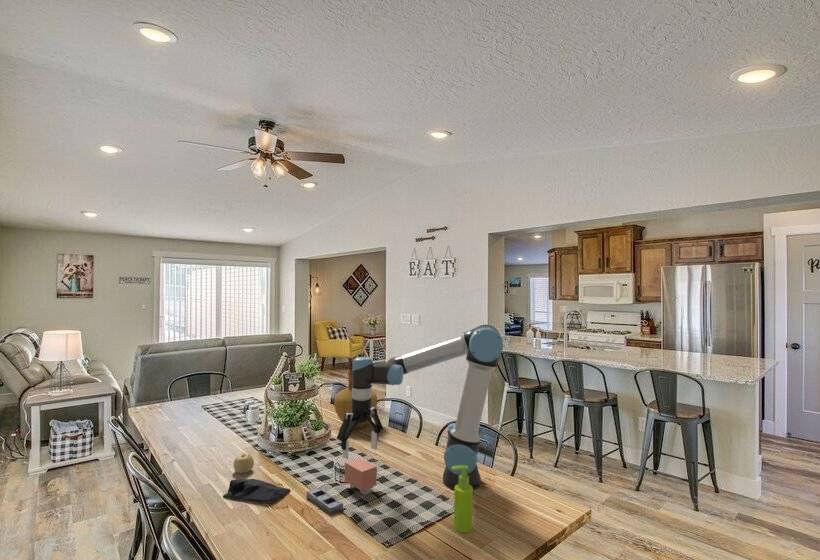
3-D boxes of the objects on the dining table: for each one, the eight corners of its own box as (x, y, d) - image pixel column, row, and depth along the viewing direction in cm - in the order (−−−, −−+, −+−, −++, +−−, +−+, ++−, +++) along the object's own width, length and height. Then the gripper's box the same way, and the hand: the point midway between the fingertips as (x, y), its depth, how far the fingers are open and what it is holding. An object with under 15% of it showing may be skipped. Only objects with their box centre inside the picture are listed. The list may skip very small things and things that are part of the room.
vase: (375, 433, 228) (375, 376, 228) (329, 432, 228) (330, 375, 228) (378, 419, 251) (379, 367, 252) (337, 418, 252) (338, 367, 252)
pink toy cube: (376, 491, 165) (376, 466, 165) (361, 497, 160) (361, 471, 160) (359, 481, 173) (359, 457, 173) (344, 487, 168) (344, 462, 168)
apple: (257, 466, 185) (257, 454, 181) (244, 481, 178) (244, 469, 175) (243, 458, 187) (242, 446, 183) (229, 472, 180) (228, 460, 177)
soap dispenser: (449, 523, 144) (450, 462, 144) (470, 522, 144) (470, 462, 145) (452, 533, 138) (453, 470, 138) (474, 532, 139) (474, 469, 139)
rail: (343, 509, 151) (343, 503, 151) (330, 514, 148) (330, 508, 148) (318, 492, 163) (318, 487, 163) (306, 497, 160) (306, 491, 160)
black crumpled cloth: (266, 510, 151) (266, 497, 151) (219, 498, 159) (219, 485, 159) (294, 491, 165) (294, 478, 165) (249, 480, 173) (249, 468, 173)
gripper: (380, 391, 178) (379, 442, 178) (328, 401, 161) (326, 458, 161) (392, 394, 172) (391, 448, 172) (339, 405, 155) (338, 465, 155)
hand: (360, 453), depth 167 cm, fingers open, 13 cm apart
